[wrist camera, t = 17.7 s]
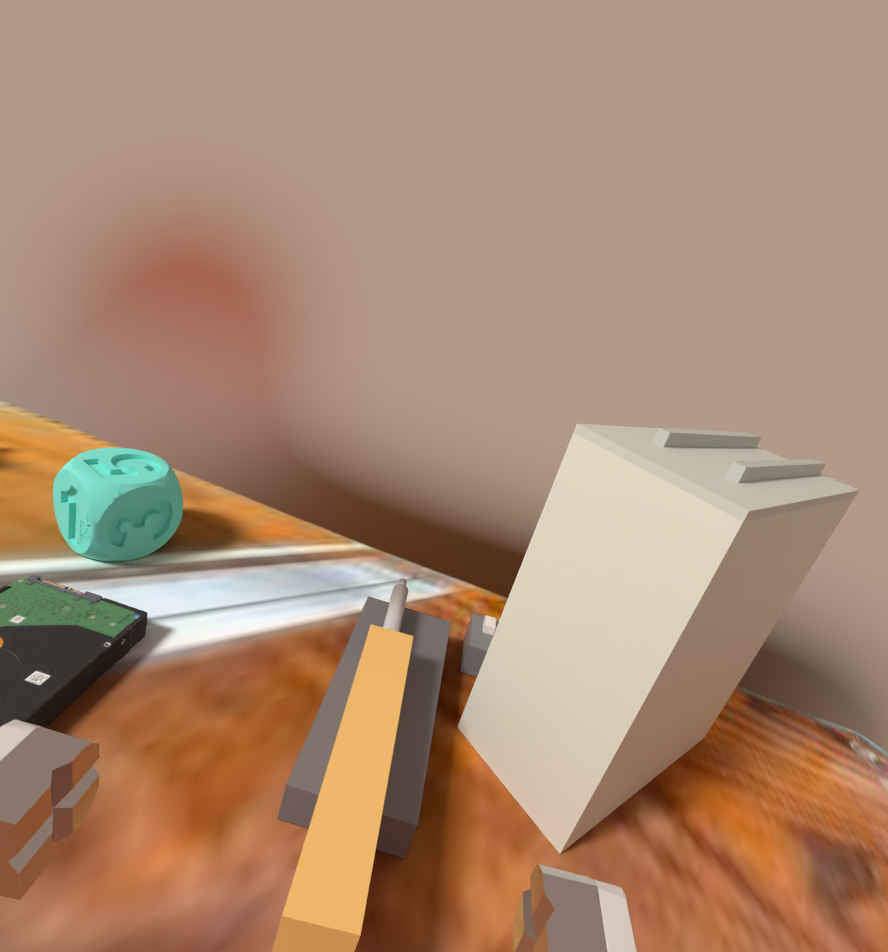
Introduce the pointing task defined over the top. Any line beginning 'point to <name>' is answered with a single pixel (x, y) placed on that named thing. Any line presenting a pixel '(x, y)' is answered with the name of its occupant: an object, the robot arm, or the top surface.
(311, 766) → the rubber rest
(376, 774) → the long orange square stick
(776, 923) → the top surface
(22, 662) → the disk drive
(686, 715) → the slotted cream upright block
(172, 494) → the decorative dice
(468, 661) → the switch box
